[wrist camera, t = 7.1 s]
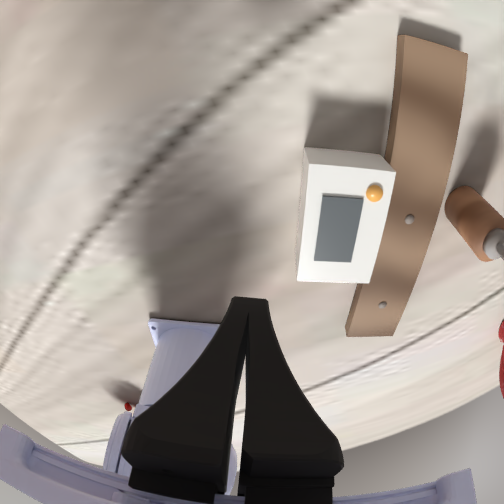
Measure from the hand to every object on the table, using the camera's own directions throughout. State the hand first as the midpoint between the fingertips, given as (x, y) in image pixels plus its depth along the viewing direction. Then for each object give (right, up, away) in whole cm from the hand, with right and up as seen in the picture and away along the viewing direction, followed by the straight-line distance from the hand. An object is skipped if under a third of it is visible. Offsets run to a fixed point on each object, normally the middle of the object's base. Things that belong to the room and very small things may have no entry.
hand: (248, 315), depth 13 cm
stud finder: (+6, +6, +9) cm, 12 cm away
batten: (+11, +5, +8) cm, 15 cm away
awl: (+16, +6, +7) cm, 19 cm away
